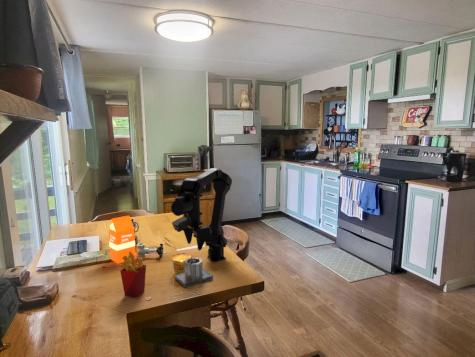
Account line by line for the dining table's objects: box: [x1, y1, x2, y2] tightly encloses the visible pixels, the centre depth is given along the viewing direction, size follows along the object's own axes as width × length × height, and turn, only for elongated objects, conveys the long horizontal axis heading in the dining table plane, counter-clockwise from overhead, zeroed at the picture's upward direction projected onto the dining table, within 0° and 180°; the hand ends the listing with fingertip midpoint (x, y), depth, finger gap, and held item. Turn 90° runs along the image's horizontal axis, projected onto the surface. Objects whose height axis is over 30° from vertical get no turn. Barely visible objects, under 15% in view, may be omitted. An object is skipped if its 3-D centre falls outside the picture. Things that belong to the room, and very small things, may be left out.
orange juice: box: [108, 215, 137, 264], centre depth 140 cm, size 8×9×20 cm
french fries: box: [117, 252, 147, 299], centre depth 107 cm, size 9×8×15 cm
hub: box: [184, 257, 203, 279], centre depth 120 cm, size 7×7×6 cm
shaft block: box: [174, 267, 214, 288], centre depth 120 cm, size 12×9×6 cm
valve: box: [135, 242, 164, 259], centre depth 142 cm, size 7×7×12 cm
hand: (194, 246), depth 123 cm, fingers open, 9 cm apart
